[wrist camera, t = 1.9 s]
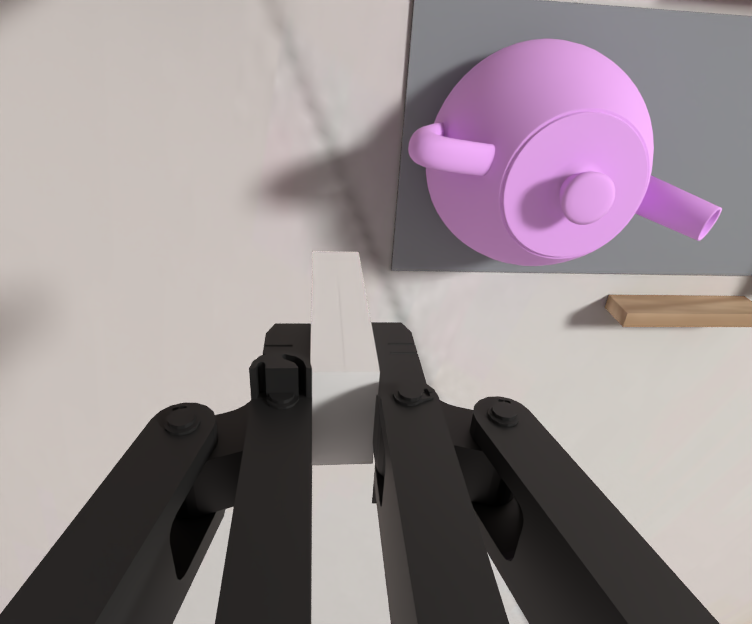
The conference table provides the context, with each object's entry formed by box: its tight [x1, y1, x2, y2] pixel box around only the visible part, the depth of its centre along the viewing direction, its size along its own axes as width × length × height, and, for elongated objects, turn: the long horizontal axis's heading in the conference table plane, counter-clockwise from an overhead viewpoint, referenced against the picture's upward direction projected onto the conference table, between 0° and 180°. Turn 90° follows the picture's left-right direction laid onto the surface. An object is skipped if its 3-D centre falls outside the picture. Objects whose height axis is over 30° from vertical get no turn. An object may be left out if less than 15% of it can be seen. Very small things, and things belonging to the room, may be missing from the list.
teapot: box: [408, 39, 722, 266], centre depth 32 cm, size 14×20×11 cm
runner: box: [391, 0, 752, 276], centre depth 37 cm, size 18×34×1 cm, turn 87°
